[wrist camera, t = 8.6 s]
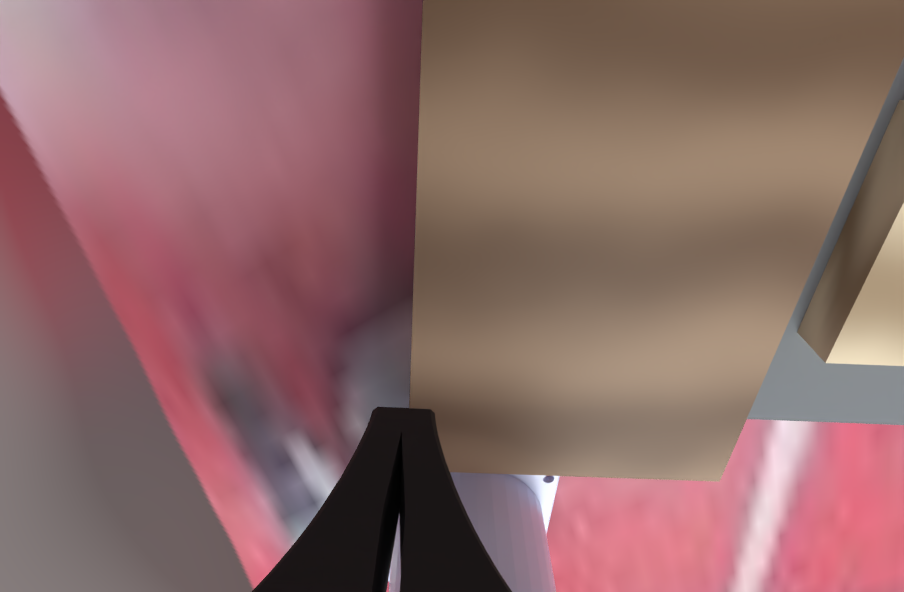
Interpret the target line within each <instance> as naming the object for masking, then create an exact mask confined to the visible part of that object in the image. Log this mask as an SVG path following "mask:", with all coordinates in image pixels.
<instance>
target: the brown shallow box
mask: <svg viewBox="0 0 904 592" xmlns="http://www.w3.org/2000/svg"><path fill="white" fill-rule="evenodd" d="M903 58H904V0H423V11H422V41H421V71H420V101H419V131H418V161H417V191H416V221H415V251H414V281H413V311H412V341H411V371H410V401H409V408H415V409H431V410H432V411H433V412H434V413H435V420H436V427H437V432H438V436H439V440H440V444H441V447H442V451H443V454H444V457H445V460H446V463H447V466H448V469H449V471H450V472H459V473H488V474H517V475H546V476H575V477H605V478H634V479H663V480H692V481H720V479H721V477H722V475H723V472H724V470H725V468H726V465H727V463H728V461H729V458H730V456H731V454H732V452H733V449H734V447H735V445H736V442H737V440H738V438H739V435H740V433H741V431H742V429H743V426H744V424H745V422H746V419H747V417H748V415H749V412H750V410H751V408H752V406H753V403H754V401H755V399H756V396H757V394H758V392H759V389H760V387H761V385H762V383H763V380H764V378H765V376H766V373H767V371H768V369H769V366H770V364H771V362H772V359H773V357H774V355H775V353H776V350H777V348H778V346H779V343H780V341H781V339H782V336H783V334H784V332H785V330H786V327H787V325H788V323H789V320H790V318H791V316H792V313H793V311H794V309H795V307H796V304H797V302H798V300H799V297H800V295H801V293H802V290H803V288H804V286H805V284H806V281H807V279H808V277H809V274H810V272H811V270H812V267H813V265H814V263H815V261H816V258H817V256H818V254H819V251H820V249H821V247H822V244H823V242H824V240H825V238H826V235H827V233H828V231H829V228H830V226H831V224H832V221H833V219H834V217H835V215H836V212H837V210H838V208H839V205H840V203H841V201H842V198H843V196H844V194H845V192H846V189H847V187H848V185H849V182H850V180H851V178H852V175H853V173H854V171H855V169H856V166H857V164H858V162H859V159H860V157H861V155H862V152H863V150H864V148H865V146H866V143H867V141H868V139H869V136H870V134H871V132H872V129H873V127H874V125H875V123H876V120H877V118H878V116H879V113H880V111H881V109H882V106H883V104H884V102H885V100H886V97H887V95H888V93H889V90H890V88H891V86H892V83H893V81H894V79H895V77H896V74H897V72H898V70H899V67H900V65H901V63H902V60H903Z"/></svg>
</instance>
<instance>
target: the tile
mask: <svg viewBox="0 0 904 592" xmlns="http://www.w3.org/2000/svg"><path fill="white" fill-rule="evenodd" d="M797 333H798V334H799V335H800V336H801V337H802V338H803V339H804V340H805V341H806V343H807V344H808V345H809V346H810V347H811V348H812V349H813V350H814V351H815V352H816V353H817V355H818V356H819V357H820V358H821V359H822V360H823V361H824V362H825V363H835V364H861V365H888V366H904V100H899V102H898V104H897V107H896V109H895V111H894V114H893V116H892V118H891V120H890V123H889V125H888V127H887V129H886V132H885V134H884V136H883V138H882V141H881V143H880V145H879V148H878V150H877V152H876V154H875V157H874V159H873V161H872V163H871V166H870V168H869V170H868V173H867V175H866V177H865V179H864V182H863V184H862V186H861V188H860V191H859V193H858V195H857V197H856V200H855V202H854V204H853V207H852V209H851V211H850V213H849V216H848V218H847V220H846V222H845V225H844V227H843V229H842V232H841V234H840V236H839V238H838V241H837V243H836V245H835V247H834V250H833V252H832V254H831V256H830V259H829V261H828V263H827V266H826V268H825V270H824V272H823V275H822V277H821V279H820V281H819V284H818V286H817V288H816V291H815V293H814V295H813V297H812V300H811V302H810V304H809V306H808V309H807V311H806V313H805V315H804V318H803V320H802V322H801V325H800V327H799V329H798V331H797Z"/></svg>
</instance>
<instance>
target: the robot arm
mask: <svg viewBox="0 0 904 592" xmlns="http://www.w3.org/2000/svg"><path fill="white" fill-rule="evenodd" d="M559 477H560V476H546V475H517V474H488V473H459V472H450V471H449V469H448V466H447V463H446V460H445V457H444V454H443V451H442V447H441V444H440V440H439V436H438V432H437V427H436V420H435V413H434V412H433V411H432V410H431V409H415V408H391V407H377V408H376V409H374V410H373V412H372V415H371V418H370V421H369V423H368V426H367V428H366V431H365V433H364V435H363V437H362V439H361V441H360V443H359V445H358V447H357V449H356V451H355V453H354V455H353V457H352V458H351V460H350V462H349V464H348V466H347V467H346V469H345V471H344V473H343V474H342V476H341V478H340V479H339V481H338V483H337V484H336V486H335V487H334V489H333V490H332V492H331V493H330V495H329V496H328V498H327V500H326V501H325V503H324V504H323V506H322V507H321V509H320V510H319V511H318V513H317V514H316V516H315V517H314V518H313V520H312V521H311V523H310V524H309V525H308V527H307V528H306V529H305V531H304V532H303V533H302V534H301V536H300V537H299V538H298V540H297V541H296V542H295V543H294V545H293V546H292V547H291V548H290V549H289V551H288V552H287V553H286V554H285V555H284V556H283V558H282V559H281V560H280V561H279V562H278V564H277V565H276V566H275V567H274V568H273V569H272V570H271V572H270V573H269V574H268V575H267V576H266V577H265V578H264V579H263V580H262V581H261V583H260V584H259V585H258V586H257V587H256V588H255V589H254V590H253V591H252V592H386V589H387V584H388V581H389V582H390V584H389V592H556V587H555V581H554V576H553V570H552V564H551V558H550V553H549V547H548V541H547V536H546V534H547V530H548V525H549V521H550V516H551V512H552V508H553V503H554V499H555V494H556V490H557V486H558V481H559Z"/></svg>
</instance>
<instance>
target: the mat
mask: <svg viewBox="0 0 904 592" xmlns="http://www.w3.org/2000/svg"><path fill="white" fill-rule="evenodd" d="M899 100H904V58H903V60H902V63H901V65H900V67H899V70H898V72H897V74H896V77H895V79H894V81H893V83H892V86H891V88H890V90H889V93H888V95H887V97H886V100H885V102H884V104H883V106H882V109H881V111H880V113H879V116H878V118H877V120H876V123H875V125H874V127H873V129H872V132H871V134H870V136H869V139H868V141H867V143H866V146H865V148H864V150H863V152H862V155H861V157H860V159H859V162H858V164H857V166H856V169H855V171H854V173H853V175H852V178H851V180H850V182H849V185H848V187H847V189H846V192H845V194H844V196H843V198H842V201H841V203H840V205H839V208H838V210H837V212H836V215H835V217H834V219H833V221H832V224H831V226H830V228H829V231H828V233H827V235H826V238H825V240H824V242H823V244H822V247H821V249H820V251H819V254H818V256H817V258H816V261H815V263H814V265H813V267H812V270H811V272H810V274H809V277H808V279H807V281H806V284H805V286H804V288H803V290H802V293H801V295H800V297H799V300H798V302H797V304H796V307H795V309H794V311H793V313H792V316H791V318H790V320H789V323H788V325H787V327H786V330H785V332H784V334H783V336H782V339H781V341H780V343H779V346H778V348H777V350H776V353H775V355H774V357H773V359H772V362H771V364H770V366H769V369H768V371H767V373H766V376H765V378H764V380H763V383H762V385H761V387H760V389H759V392H758V394H757V396H756V399H755V401H754V403H753V406H752V408H751V410H750V412H749V415H748V417H747V419H763V420H789V421H814V422H840V423H865V424H891V425H904V366H888V365H861V364H835V363H825V362H824V361H823V360H822V359H821V358H820V357H819V356H818V355H817V353H816V352H815V351H814V350H813V349H812V348H811V347H810V346H809V345H808V344H807V343H806V341H805V340H804V339H803V338H802V337H801V336H800V335H799V334H798V333H797V331H798V329H799V327H800V325H801V322H802V320H803V318H804V315H805V313H806V311H807V309H808V306H809V304H810V302H811V300H812V297H813V295H814V293H815V291H816V288H817V286H818V284H819V281H820V279H821V277H822V275H823V272H824V270H825V268H826V266H827V263H828V261H829V259H830V256H831V254H832V252H833V250H834V247H835V245H836V243H837V241H838V238H839V236H840V234H841V232H842V229H843V227H844V225H845V222H846V220H847V218H848V216H849V213H850V211H851V209H852V207H853V204H854V202H855V200H856V197H857V195H858V193H859V191H860V188H861V186H862V184H863V182H864V179H865V177H866V175H867V173H868V170H869V168H870V166H871V163H872V161H873V159H874V157H875V154H876V152H877V150H878V148H879V145H880V143H881V141H882V138H883V136H884V134H885V132H886V129H887V127H888V125H889V123H890V120H891V118H892V116H893V114H894V111H895V109H896V107H897V104H898V102H899Z"/></svg>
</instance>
